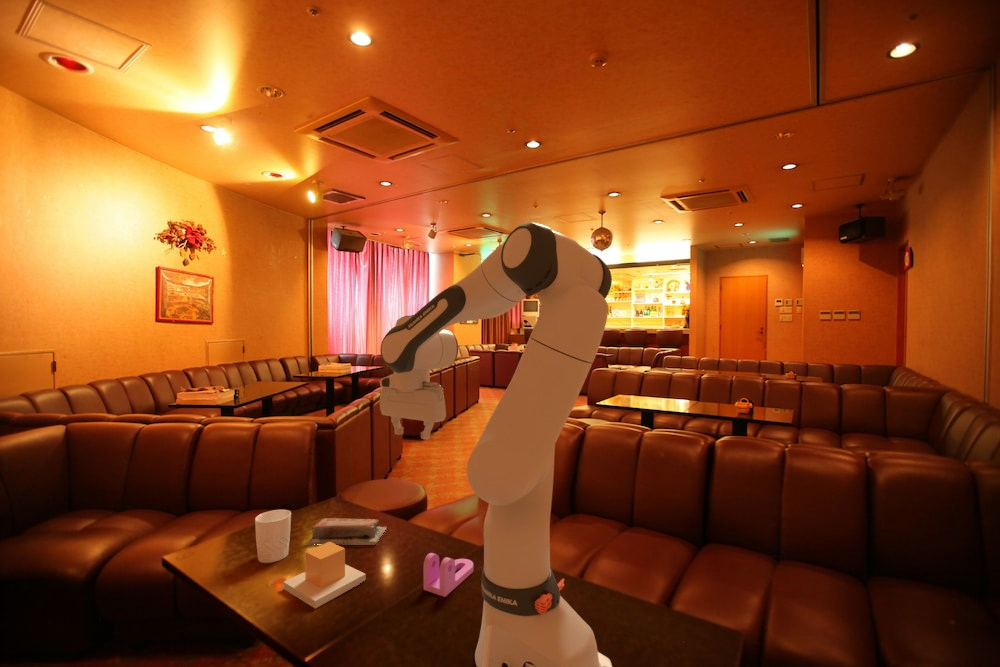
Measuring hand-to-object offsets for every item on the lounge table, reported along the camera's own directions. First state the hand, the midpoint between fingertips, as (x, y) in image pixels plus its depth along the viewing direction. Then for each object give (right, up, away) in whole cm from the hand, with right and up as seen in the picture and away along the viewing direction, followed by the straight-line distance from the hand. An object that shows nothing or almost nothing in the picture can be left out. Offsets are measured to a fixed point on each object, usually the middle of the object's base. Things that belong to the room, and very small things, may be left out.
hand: (412, 436), depth 107 cm
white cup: (-34, -30, -1) cm, 45 cm away
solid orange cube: (-16, -28, -13) cm, 35 cm away
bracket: (+11, -29, -11) cm, 33 cm away
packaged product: (-19, -30, +9) cm, 37 cm away
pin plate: (-16, -29, -13) cm, 36 cm away
